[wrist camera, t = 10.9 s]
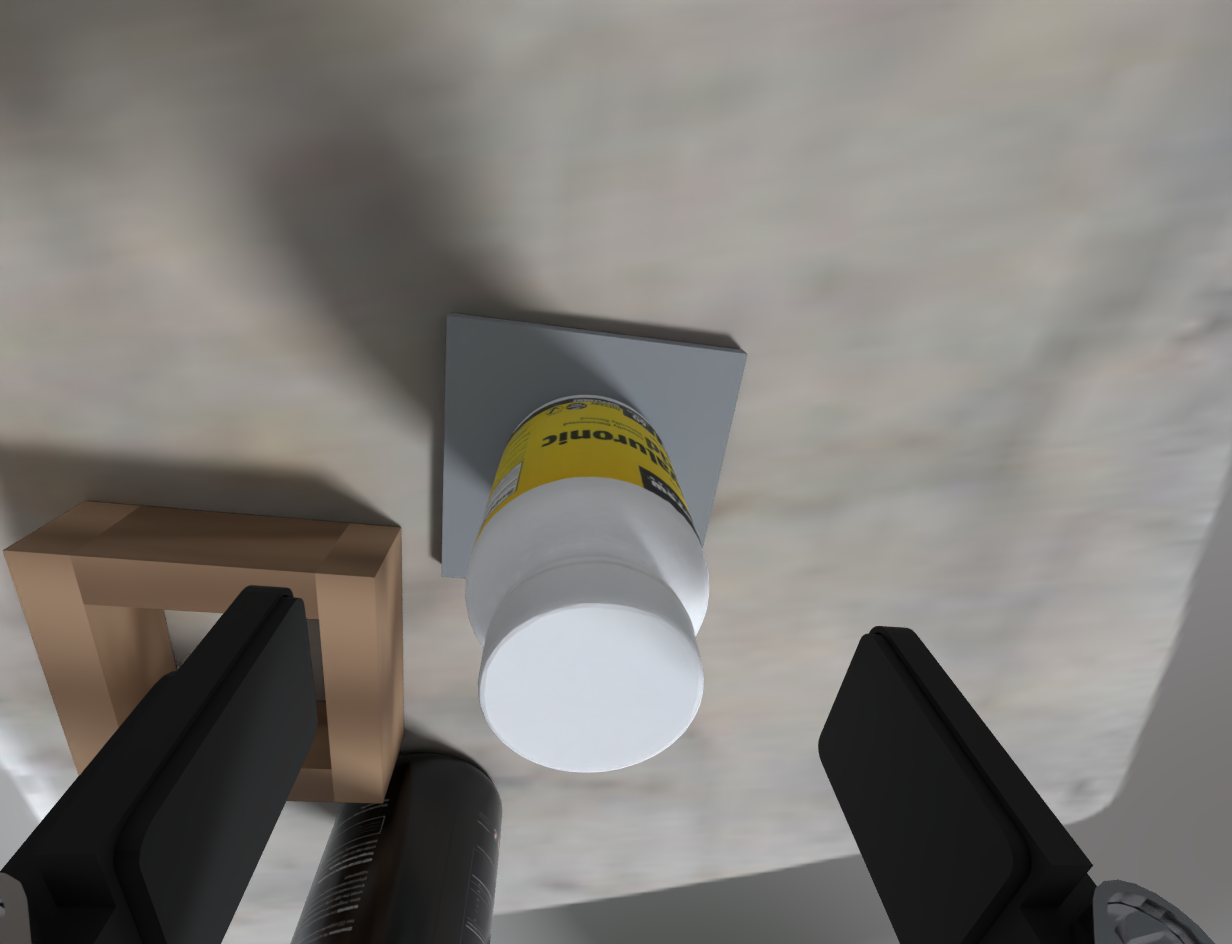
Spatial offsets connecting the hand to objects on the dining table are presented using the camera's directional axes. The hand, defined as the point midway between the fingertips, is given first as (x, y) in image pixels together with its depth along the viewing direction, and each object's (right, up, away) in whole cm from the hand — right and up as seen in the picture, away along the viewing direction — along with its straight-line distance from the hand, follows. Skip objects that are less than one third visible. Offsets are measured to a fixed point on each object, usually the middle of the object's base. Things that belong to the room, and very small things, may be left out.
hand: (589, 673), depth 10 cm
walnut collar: (-13, -3, +12) cm, 17 cm away
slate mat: (-1, +4, +10) cm, 10 cm away
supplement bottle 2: (-1, +4, +9) cm, 10 cm away
